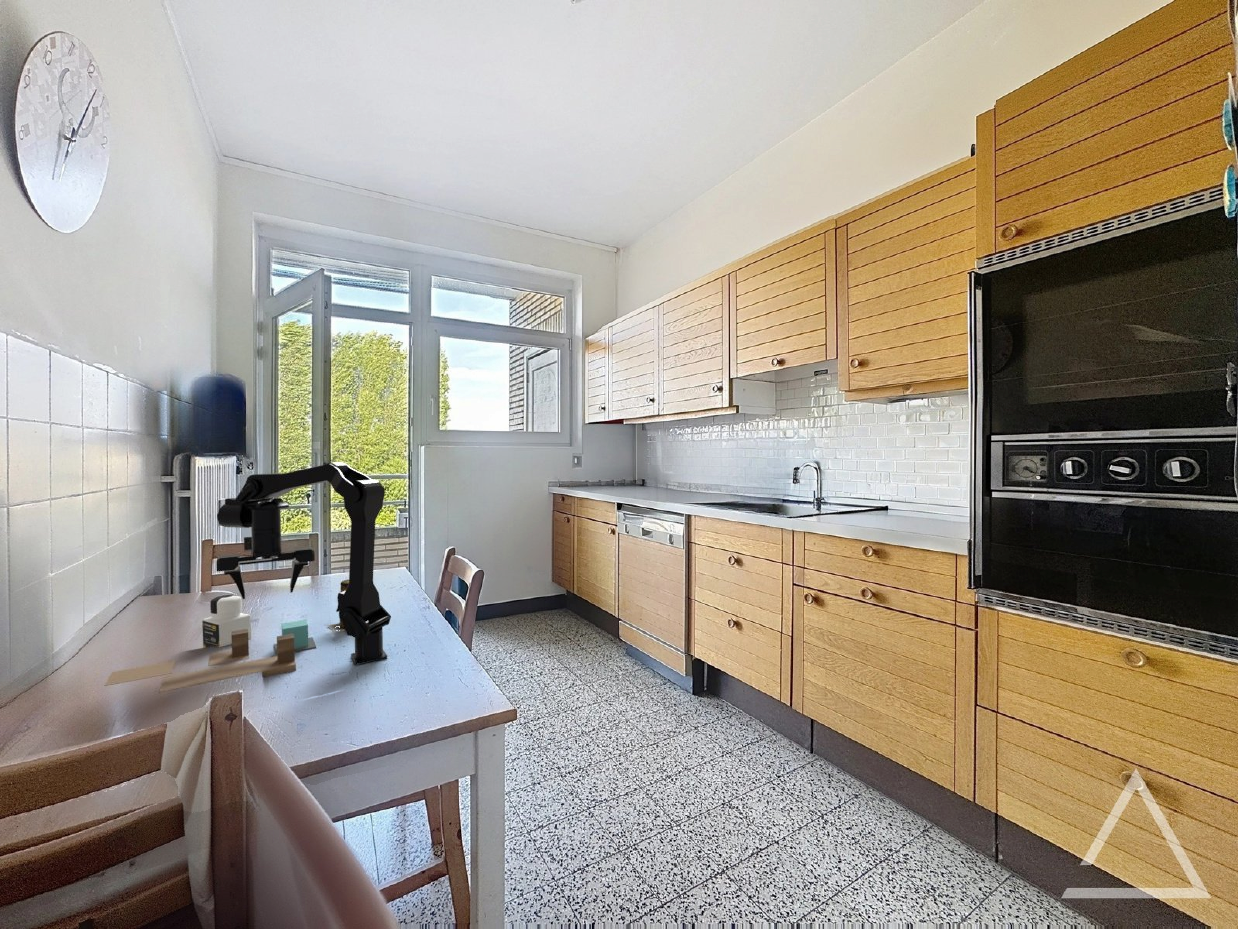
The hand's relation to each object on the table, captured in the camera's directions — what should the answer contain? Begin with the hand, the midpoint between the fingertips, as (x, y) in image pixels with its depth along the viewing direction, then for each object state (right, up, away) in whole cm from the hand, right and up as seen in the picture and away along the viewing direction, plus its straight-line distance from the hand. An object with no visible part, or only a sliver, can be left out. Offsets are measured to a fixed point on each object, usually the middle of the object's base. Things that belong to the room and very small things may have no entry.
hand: (268, 595), depth 125 cm
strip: (+2, -13, -14) cm, 20 cm away
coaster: (+5, -13, +2) cm, 14 cm away
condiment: (+10, -13, +18) cm, 24 cm away
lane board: (-11, -14, -17) cm, 25 cm away
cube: (+5, -12, +2) cm, 13 cm away
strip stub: (-4, -13, -6) cm, 15 cm away
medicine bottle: (-12, -13, +4) cm, 18 cm away
